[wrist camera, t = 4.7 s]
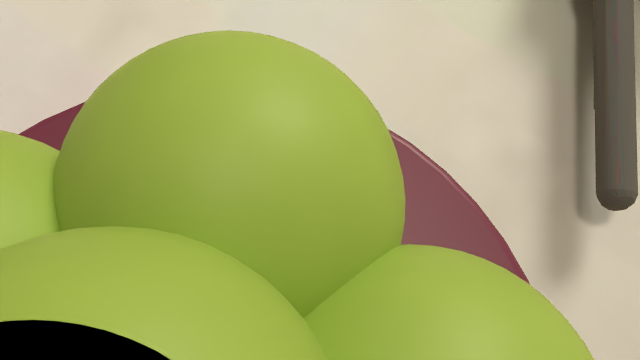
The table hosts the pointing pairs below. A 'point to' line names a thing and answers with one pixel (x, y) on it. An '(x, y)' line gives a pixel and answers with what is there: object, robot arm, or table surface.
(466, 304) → the grape tub
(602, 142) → the walkie-talkie
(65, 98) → the table surface
